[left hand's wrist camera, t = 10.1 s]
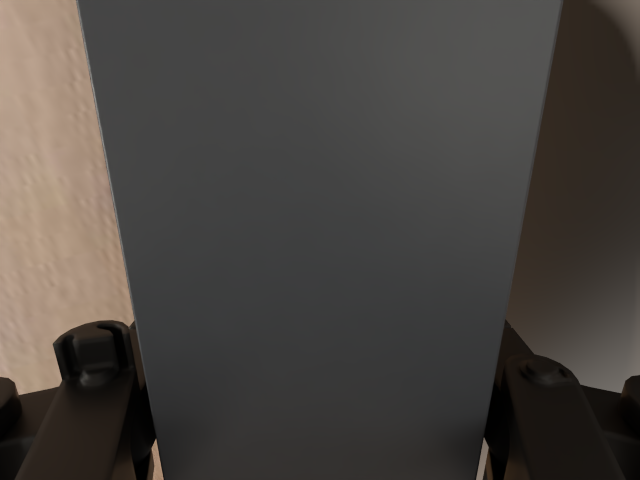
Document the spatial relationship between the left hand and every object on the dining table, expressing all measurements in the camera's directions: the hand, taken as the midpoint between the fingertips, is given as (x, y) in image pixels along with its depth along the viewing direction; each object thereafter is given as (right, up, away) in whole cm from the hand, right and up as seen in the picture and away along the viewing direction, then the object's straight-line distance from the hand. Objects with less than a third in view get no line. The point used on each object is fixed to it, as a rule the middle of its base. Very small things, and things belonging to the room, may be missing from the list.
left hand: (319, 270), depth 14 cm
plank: (0, +18, -6) cm, 19 cm away
